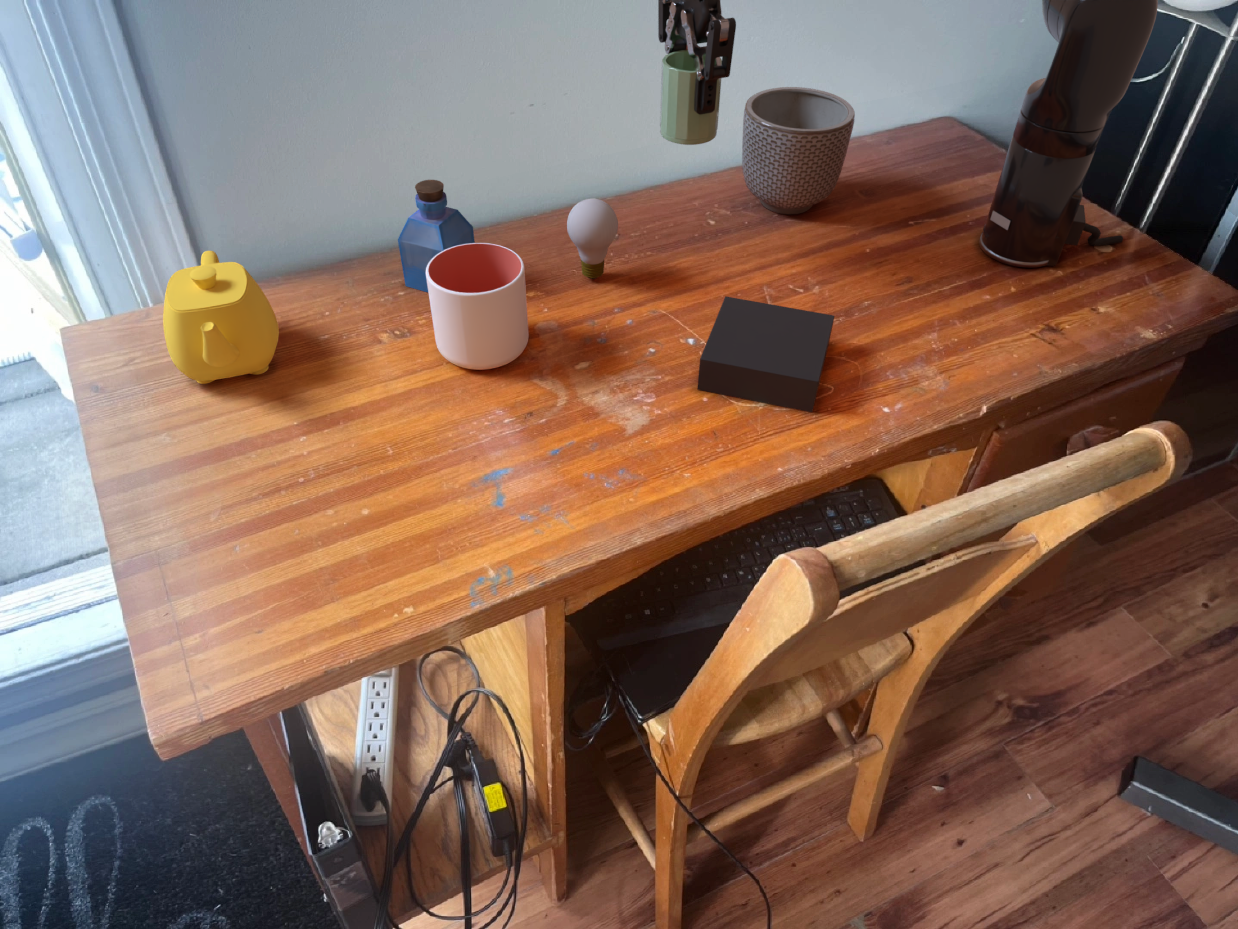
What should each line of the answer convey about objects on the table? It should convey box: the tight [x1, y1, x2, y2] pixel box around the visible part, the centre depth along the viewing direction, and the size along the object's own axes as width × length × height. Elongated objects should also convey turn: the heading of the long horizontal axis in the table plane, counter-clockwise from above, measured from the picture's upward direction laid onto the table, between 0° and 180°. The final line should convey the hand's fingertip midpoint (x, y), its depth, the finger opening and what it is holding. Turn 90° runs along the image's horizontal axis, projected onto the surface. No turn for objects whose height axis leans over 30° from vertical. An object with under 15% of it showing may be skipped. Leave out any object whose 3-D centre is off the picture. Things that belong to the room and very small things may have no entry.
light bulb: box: [566, 198, 619, 280], centre depth 110 cm, size 6×6×10 cm
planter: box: [741, 86, 856, 215], centre depth 123 cm, size 14×14×13 cm
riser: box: [697, 296, 835, 413], centre depth 100 cm, size 12×12×4 cm
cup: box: [426, 242, 530, 371], centre depth 99 cm, size 10×10×10 cm
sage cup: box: [659, 50, 722, 146], centre depth 104 cm, size 6×6×8 cm
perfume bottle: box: [397, 179, 476, 293], centre depth 108 cm, size 6×6×12 cm
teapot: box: [162, 250, 280, 385], centre depth 97 cm, size 18×11×11 cm, turn 18°
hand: (690, 99), depth 104 cm, fingers closed on sage cup, 6 cm apart
